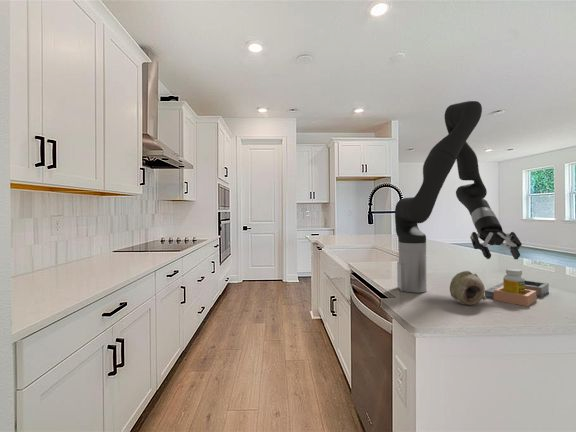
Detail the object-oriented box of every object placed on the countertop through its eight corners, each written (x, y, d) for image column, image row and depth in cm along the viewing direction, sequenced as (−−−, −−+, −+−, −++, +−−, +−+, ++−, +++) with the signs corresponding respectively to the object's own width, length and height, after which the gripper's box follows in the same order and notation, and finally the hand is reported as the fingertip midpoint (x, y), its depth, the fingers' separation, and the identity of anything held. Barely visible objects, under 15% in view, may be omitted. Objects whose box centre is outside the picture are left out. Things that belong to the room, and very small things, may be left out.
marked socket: (527, 306, 86) (527, 296, 86) (493, 299, 93) (493, 290, 93) (536, 300, 91) (536, 291, 91) (503, 294, 98) (503, 285, 98)
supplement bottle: (507, 296, 96) (507, 267, 96) (527, 300, 92) (527, 269, 92) (500, 299, 93) (500, 269, 93) (521, 303, 89) (520, 272, 89)
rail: (529, 305, 87) (529, 295, 87) (484, 296, 96) (484, 287, 96) (548, 292, 100) (548, 283, 100) (507, 285, 109) (507, 277, 109)
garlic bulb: (443, 301, 92) (443, 269, 92) (462, 297, 96) (462, 267, 95) (473, 310, 84) (472, 275, 83) (492, 306, 87) (492, 272, 87)
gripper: (468, 215, 108) (484, 250, 96) (511, 214, 105) (532, 251, 94) (461, 228, 113) (476, 264, 102) (502, 228, 111) (521, 264, 100)
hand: (503, 257), depth 98 cm, fingers open, 8 cm apart
